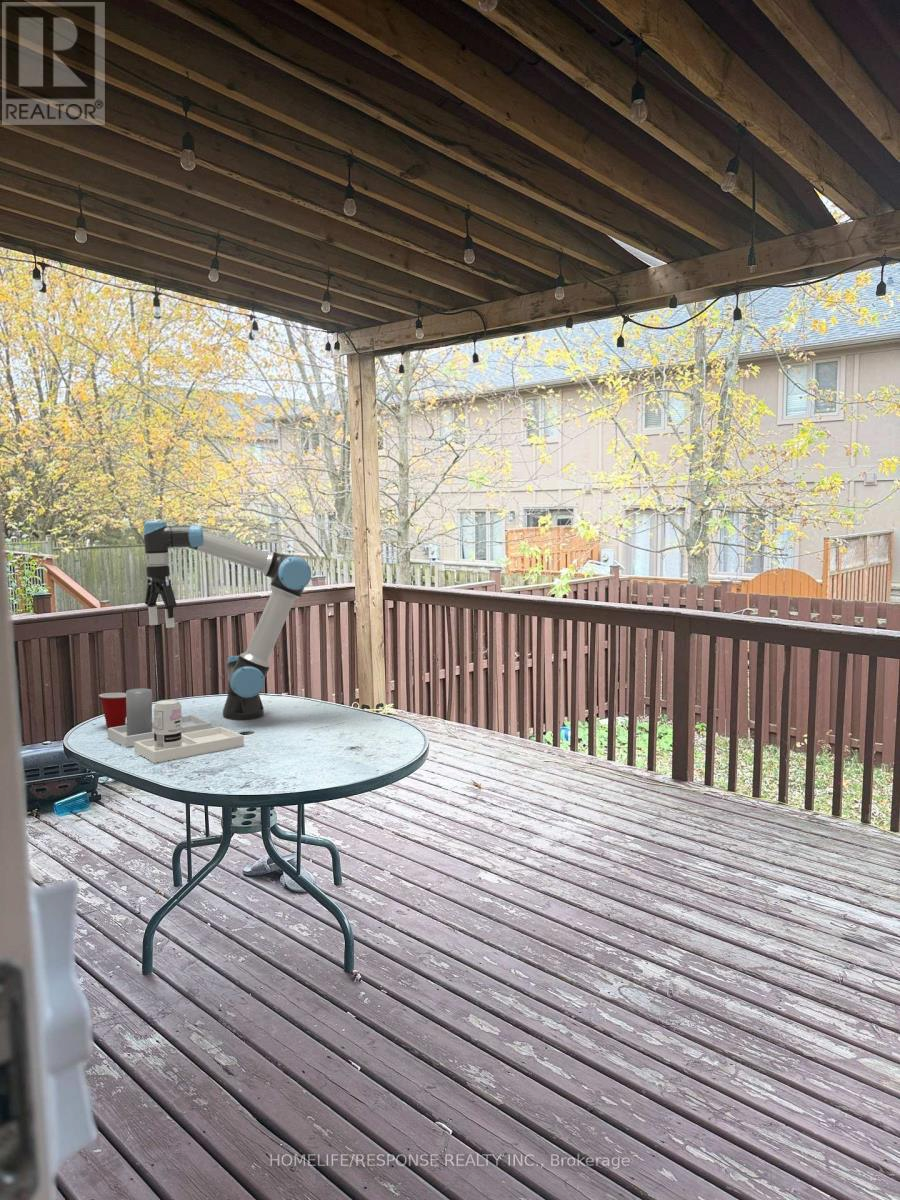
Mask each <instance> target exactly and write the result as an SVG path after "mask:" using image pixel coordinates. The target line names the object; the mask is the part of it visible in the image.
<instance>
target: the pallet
mask: <svg viewBox="0 0 900 1200" xmlns="http://www.w3.org/2000/svg"><path fill="white" fill-rule="evenodd" d="M244 743H245V741H244V734H241V733H239V732H236V731H233V730H231V729H228V728H226V727H224V726H217V727H212V728H211V729H205V730H199V731H193V732H188V733H182V746H179V747H174V748H168V749H163V750H158V751H157V750H156V749H155V748H154V738H153V739H147V740H142V741H136V742H134V746H133V748H134V752H136V753H138V754H140V755H142V756H143V757H142V756H141V757H142V758H144V757H145V758H144V759H146V758H147V759H149V760H151V761H152V762H151V761H150V762H151V763H153V762H154V763H153V764H158V763H157V762H159V763H163V761H164V762H169V761H172V760H173V759H174V760H178V759H183V758H188V757H189V758H191V757H193V756H194V757H195V756H199V755H204V754H209V753H214V752H218V751H219V752H220V751H225V750H230V749H235V747H236V748H239V747H244V746H245V745H244ZM136 753H135V754H136ZM138 754H137V755H138ZM140 755H139V756H140ZM147 759H146V760H147ZM149 760H148V761H149ZM168 760H169V761H168Z"/></svg>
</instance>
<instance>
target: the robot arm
mask: <svg viewBox="0 0 900 1200" xmlns="http://www.w3.org/2000/svg"><path fill="white" fill-rule="evenodd" d="M143 542H144V552H145V556H144V560H145V563H146V565H147V566H146V576H147V577H148V578H147V580H146V582H147V584H146V586H147V587H146V593H145V599H144V600H145V601H144V604H145V606H146V605H147V607H148V608H147V609H148V621H149V626H157V625H159V622H158V621H159V620H158V619H159V618H158V607H157V606H158V604H157V600H158V598H159V595H160V597H161V599H162V601H163V604H164V608H163V609H164V613H165V614H164V615H165V628H166V629H170V628H176V627H175V614H174V611H175V610H174V609H175V607H177V601H176V598H175V593H174V590H173V587H172V581H171V579H167V578H166V577H170V575H171V571H170V570H171V568H170V566H169V564H170V557H169V556H170V554H169V548H170V549H171V548H172V549H173V548H189V549H192V550H195V551H198V552H202V553H205V554H207V555H210V556H213V557H216V558H219V559H222V560H225V561H228V562H231V563H234V564H237V565H240V566H243V567H247V568H249V569H252V570H255V571H258V572H262V574H263V576H265V577H268V578H270V579H272V580H271V583H270V585H269V586H270V589H271V593H270V595H269V598H268V600H267V602H266V604H265V606H264V609H263V611H262V613H261V616H260V618H259V620H258V623H257V625H256V628H255V630H254V632H253V634H252V636H251V639H250V641H249V643H248V646H247V648H246V651H244V652H242V653H240V654H239V655H230V656H228V658H227V662H226V666H227V695H226V696H227V697H226V699H225V703H224V707H223V709H222V717H223V718H224V719H229V720H235V719H237V721H239V720H242V721H243V720H244V719H245V720H254V719H257V718H258V717H259V718H261V717H263V716H264V714H265V710H264V705H263V701H262V700H261V699H262V698H261V696H260V693H261V692H262V691H263V689H264V687H265V683H266V682H265V681H266V677H267V674H268V672H269V670H270V668H271V665H270V663H269V662H270V661H269V659H270V657H271V655H272V652H273V650H274V648H275V645H276V643H277V641H278V639H279V636H280V633H282V629H283V627H284V625H285V624H286V623H285V622H286V620H287V618H288V615H289V614H290V612H291V609H292V606H293V604H294V602H295V601H296V600H298V599H301V596H302V594H303V592H304V589H305V587H307V586H308V584H309V583H310V581H311V578H312V570H311V567H310V565H309V563H308V562H307V561H306V560H305V559H304V558H302V557H300V556H297V555H289V554H283V553H278V552H275V551H270V552H267V551H264V550H261V549H258V548H255V547H252V546H249V545H246V544H243V543H240V542H238V541H234V540H231V539H229V538H226V537H223V536H220V535H216V534H213V533H211V532H207V531H205V530H203V526H202V525H200V524H199V525H197V524H196V525H195V524H191V525H187V524H182V525H167V522H166V520H148V521H145V522H144V523H143ZM245 720H244V721H245Z"/></svg>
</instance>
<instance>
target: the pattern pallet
mask: <svg viewBox="0 0 900 1200" xmlns="http://www.w3.org/2000/svg"><path fill="white" fill-rule="evenodd" d="M125 693H126V711H127V717H126V724H125V725H124V726H118V727H112V728H107V739H108V738H109V739H108V740H110V739H111V740H110V741H112V740H113V741H112V742H114V741H115V742H114V743H116V742H117V743H116V744H118V743H119V744H121V745H123V746H125V747H128V746H133V747H134V742H136V741H142V740H147V739H153V738H154V720H153V690H152V689H151V688H146V687H143V688H142V687H141V688H131V689H127V690H126V692H125ZM181 719H182V733H188V732H193V731H199V730H205V729H211V728H213V724H212V723H213V722H211V721H208V720H206V719H204V718H200V717H199V716H197V715H194V714H189V715H181ZM119 744H118V745H119ZM121 745H120V746H121ZM123 746H122V747H123ZM125 747H124V748H125ZM128 748H129V747H128Z"/></svg>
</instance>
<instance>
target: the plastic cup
mask: <svg viewBox="0 0 900 1200" xmlns="http://www.w3.org/2000/svg"><path fill="white" fill-rule="evenodd" d="M98 696H99V698H100V701H101V705H102V711H103V714H104V718H105V724H106V728H107V729H108V728H112V727H118V726H124V725H126V723H127V711H126V692H106V693H100V694H98Z"/></svg>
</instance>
